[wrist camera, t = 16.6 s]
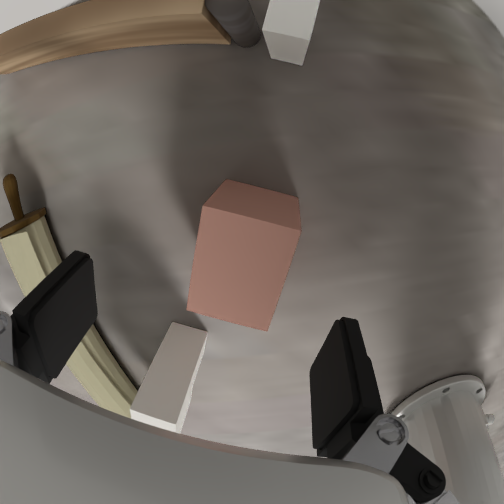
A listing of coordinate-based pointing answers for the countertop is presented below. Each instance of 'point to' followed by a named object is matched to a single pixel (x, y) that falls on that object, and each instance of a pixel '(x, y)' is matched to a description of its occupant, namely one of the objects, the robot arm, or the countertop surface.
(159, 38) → the door
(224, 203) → the block
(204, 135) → the countertop surface
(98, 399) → the rolling pin
